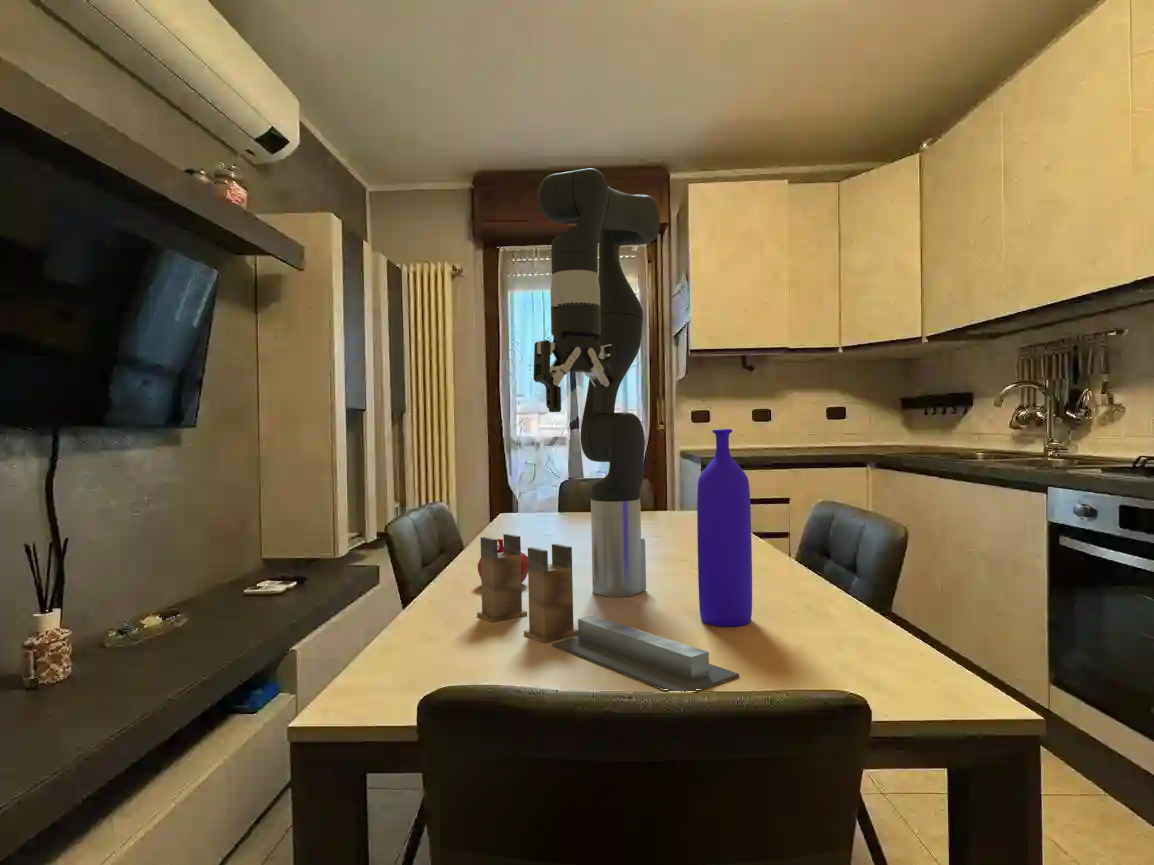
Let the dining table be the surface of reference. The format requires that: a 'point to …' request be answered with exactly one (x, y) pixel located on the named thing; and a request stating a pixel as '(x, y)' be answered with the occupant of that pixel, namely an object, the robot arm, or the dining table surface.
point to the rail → (645, 648)
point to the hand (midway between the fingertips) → (577, 411)
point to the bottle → (724, 540)
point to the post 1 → (501, 579)
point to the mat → (643, 668)
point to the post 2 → (550, 594)
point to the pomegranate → (523, 561)
